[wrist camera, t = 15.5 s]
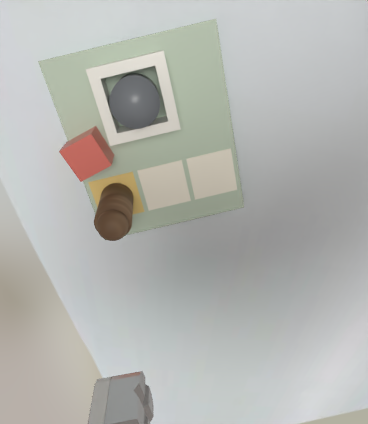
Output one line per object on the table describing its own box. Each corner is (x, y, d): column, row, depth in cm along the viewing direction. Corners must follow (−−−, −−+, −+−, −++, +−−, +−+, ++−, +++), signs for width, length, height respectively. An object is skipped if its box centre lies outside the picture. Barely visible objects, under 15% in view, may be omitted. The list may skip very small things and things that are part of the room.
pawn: (129, 180, 38) (126, 211, 31) (136, 209, 40) (135, 245, 32) (97, 186, 38) (86, 219, 31) (105, 215, 40) (97, 252, 32)
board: (214, 19, 33) (216, 18, 32) (242, 203, 42) (244, 207, 41) (41, 61, 33) (37, 61, 32) (106, 235, 42) (105, 240, 41)
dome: (152, 68, 33) (153, 71, 29) (163, 114, 35) (165, 122, 31) (107, 78, 33) (102, 83, 29) (120, 124, 35) (117, 133, 31)
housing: (162, 50, 33) (163, 50, 30) (178, 122, 36) (180, 129, 33) (90, 67, 33) (85, 69, 30) (112, 138, 36) (110, 146, 33)
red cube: (95, 125, 35) (90, 133, 32) (114, 154, 37) (111, 165, 34) (66, 141, 36) (59, 151, 32) (86, 170, 37) (80, 181, 34)
